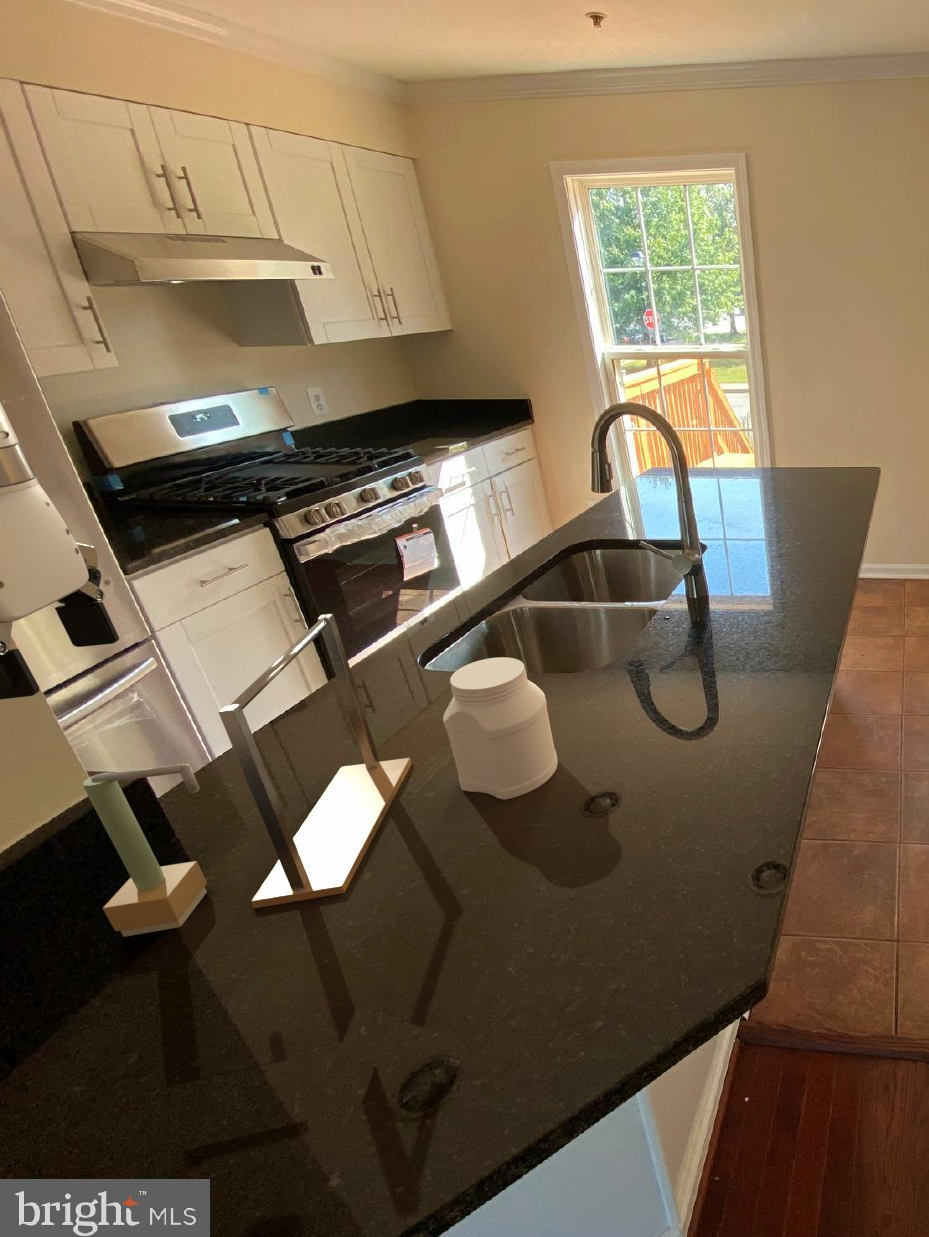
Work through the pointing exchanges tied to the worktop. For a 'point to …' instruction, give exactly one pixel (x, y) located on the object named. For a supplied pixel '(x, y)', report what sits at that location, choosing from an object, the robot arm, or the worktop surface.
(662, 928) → the worktop surface
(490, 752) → the jar
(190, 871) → the hook stand
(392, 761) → the metal frame rack
